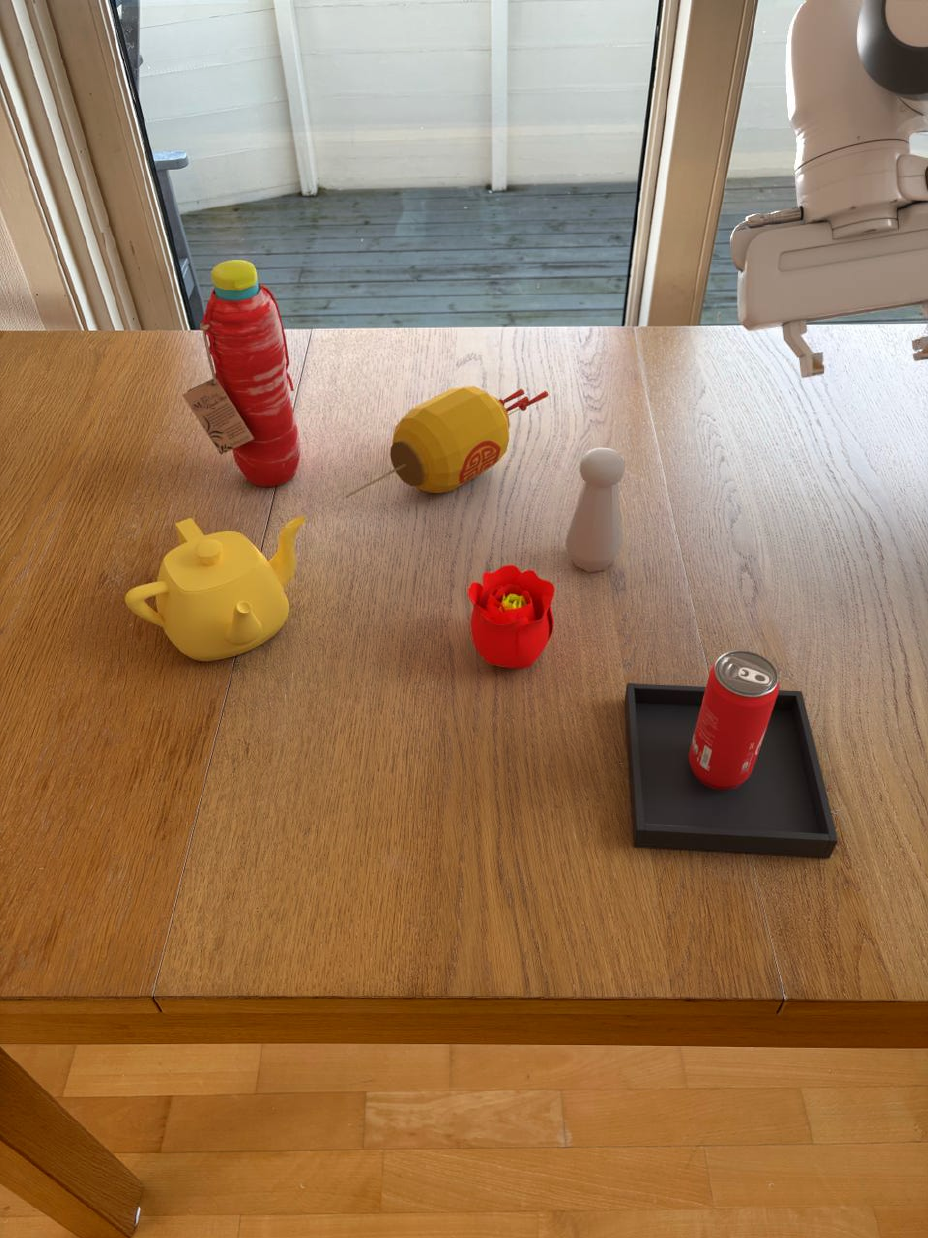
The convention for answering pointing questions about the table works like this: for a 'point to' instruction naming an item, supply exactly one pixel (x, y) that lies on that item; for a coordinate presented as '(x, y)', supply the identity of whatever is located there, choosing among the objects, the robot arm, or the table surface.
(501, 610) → the flower
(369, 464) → the table surface
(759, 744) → the beverage can
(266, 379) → the water bottle
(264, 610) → the teapot
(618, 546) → the salt shaker
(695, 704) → the tray
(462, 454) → the lantern
